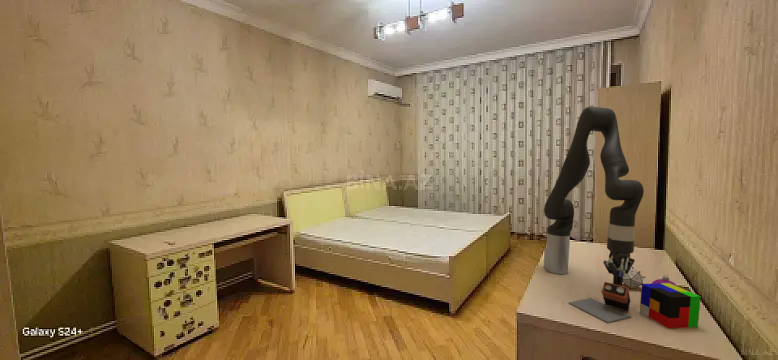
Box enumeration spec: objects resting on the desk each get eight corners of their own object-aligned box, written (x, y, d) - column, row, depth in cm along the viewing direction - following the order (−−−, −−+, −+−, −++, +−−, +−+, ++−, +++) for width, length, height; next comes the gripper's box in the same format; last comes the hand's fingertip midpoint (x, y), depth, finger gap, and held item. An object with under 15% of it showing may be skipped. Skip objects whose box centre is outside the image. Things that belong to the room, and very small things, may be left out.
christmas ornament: (644, 298, 116) (646, 272, 116) (657, 294, 120) (659, 269, 119) (671, 308, 109) (673, 280, 108) (684, 304, 112) (686, 277, 111)
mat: (568, 303, 112) (568, 302, 112) (590, 299, 116) (590, 297, 116) (607, 323, 99) (607, 321, 99) (631, 317, 103) (631, 316, 102)
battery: (628, 312, 106) (625, 297, 101) (604, 304, 111) (600, 290, 106) (630, 300, 108) (628, 285, 103) (607, 294, 113) (603, 279, 108)
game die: (636, 298, 125) (655, 285, 118) (614, 289, 126) (631, 275, 120) (631, 280, 132) (648, 267, 125) (610, 272, 133) (626, 258, 127)
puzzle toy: (639, 312, 106) (641, 283, 105) (666, 311, 107) (669, 283, 106) (668, 328, 96) (670, 297, 96) (697, 327, 97) (700, 296, 96)
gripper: (622, 233, 114) (619, 279, 115) (596, 236, 109) (593, 284, 111) (645, 238, 107) (641, 287, 108) (619, 241, 102) (615, 293, 104)
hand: (617, 285), depth 109 cm, fingers closed
